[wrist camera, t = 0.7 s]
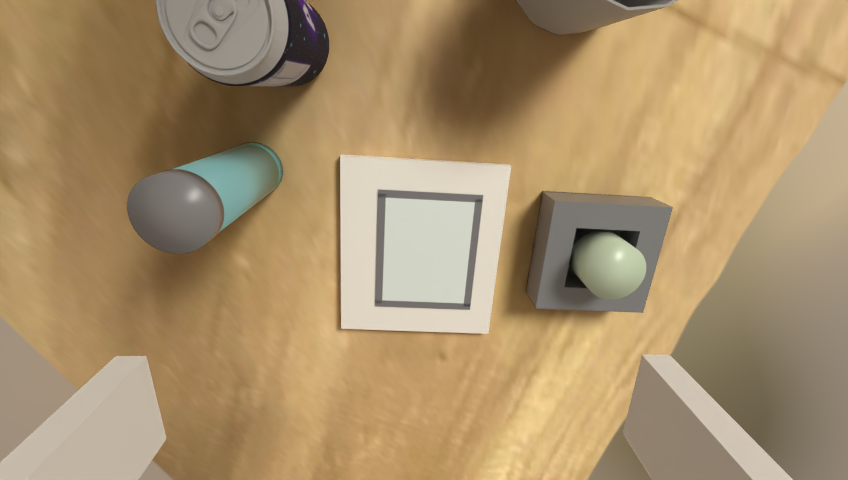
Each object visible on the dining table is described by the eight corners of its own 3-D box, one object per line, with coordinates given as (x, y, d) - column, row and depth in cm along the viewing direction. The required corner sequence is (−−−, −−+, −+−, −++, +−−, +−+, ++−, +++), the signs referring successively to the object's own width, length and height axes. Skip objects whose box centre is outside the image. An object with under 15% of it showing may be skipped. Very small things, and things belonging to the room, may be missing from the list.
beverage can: (348, 39, 29) (309, 8, 18) (300, 103, 30) (236, 113, 19) (279, -24, 27) (190, -102, 16) (232, 46, 29) (120, 20, 17)
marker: (226, 140, 31) (119, 171, 19) (281, 143, 31) (209, 176, 20) (231, 193, 32) (135, 252, 21) (284, 196, 32) (218, 255, 21)
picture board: (341, 154, 32) (339, 155, 31) (509, 164, 32) (511, 166, 32) (342, 324, 37) (340, 329, 36) (486, 329, 37) (488, 334, 37)
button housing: (542, 191, 33) (555, 200, 30) (650, 197, 34) (672, 207, 31) (525, 291, 36) (535, 308, 33) (624, 295, 37) (642, 312, 34)
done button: (575, 228, 32) (592, 243, 29) (630, 231, 32) (653, 246, 29) (565, 279, 34) (580, 298, 31) (617, 281, 34) (638, 300, 31)
